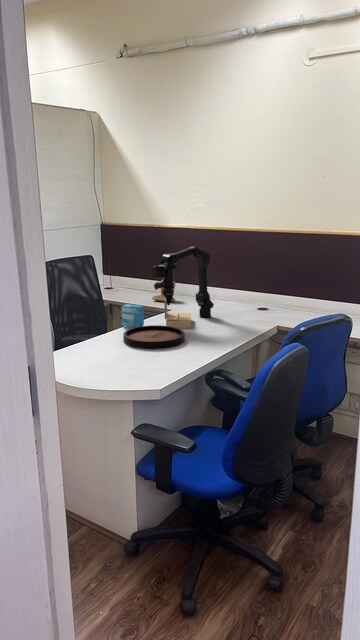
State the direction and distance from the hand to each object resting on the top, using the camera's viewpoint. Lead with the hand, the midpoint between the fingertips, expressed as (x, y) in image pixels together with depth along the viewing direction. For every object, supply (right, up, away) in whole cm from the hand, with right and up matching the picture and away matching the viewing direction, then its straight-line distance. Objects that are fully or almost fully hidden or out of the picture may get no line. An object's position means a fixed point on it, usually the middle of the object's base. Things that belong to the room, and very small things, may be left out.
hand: (168, 303), depth 280 cm
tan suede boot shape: (-4, +4, +65) cm, 65 cm away
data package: (-20, -13, -2) cm, 24 cm away
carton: (+6, -12, +3) cm, 13 cm away
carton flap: (+2, -7, +2) cm, 8 cm away
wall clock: (-7, -20, -29) cm, 36 cm away
